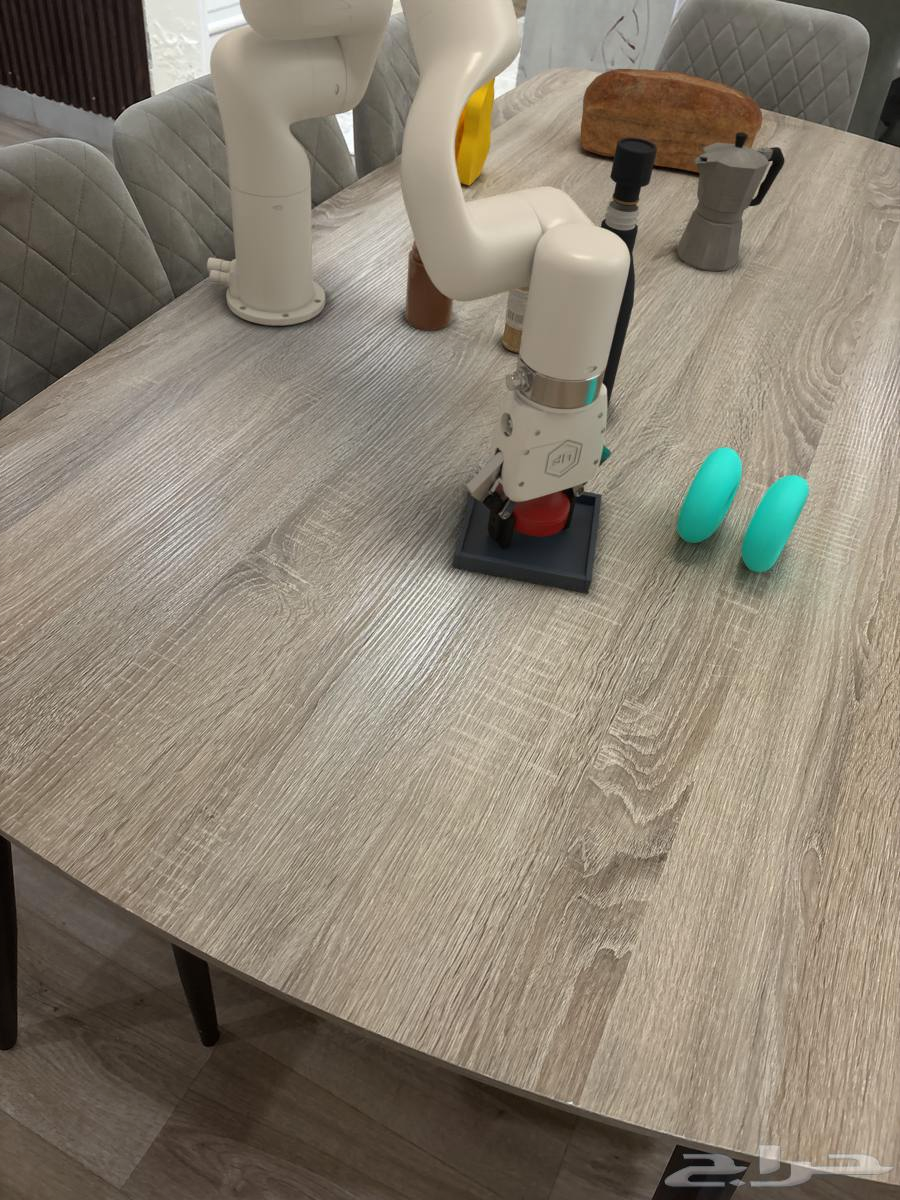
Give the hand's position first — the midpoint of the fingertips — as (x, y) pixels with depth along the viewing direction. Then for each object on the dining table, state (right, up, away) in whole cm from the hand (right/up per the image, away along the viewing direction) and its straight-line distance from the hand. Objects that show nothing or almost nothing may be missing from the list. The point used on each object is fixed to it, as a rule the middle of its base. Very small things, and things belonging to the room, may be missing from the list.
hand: (529, 528), depth 94 cm
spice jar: (+1, +25, +26) cm, 36 cm away
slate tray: (0, -1, +1) cm, 1 cm away
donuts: (+20, -2, +2) cm, 20 cm away
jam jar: (-11, +30, +29) cm, 43 cm away
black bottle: (+7, +15, +17) cm, 24 cm away
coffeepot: (+32, +45, +49) cm, 73 cm away
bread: (+30, +72, +75) cm, 108 cm away
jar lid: (+1, +2, -3) cm, 4 cm away
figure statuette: (-6, +62, +61) cm, 88 cm away
